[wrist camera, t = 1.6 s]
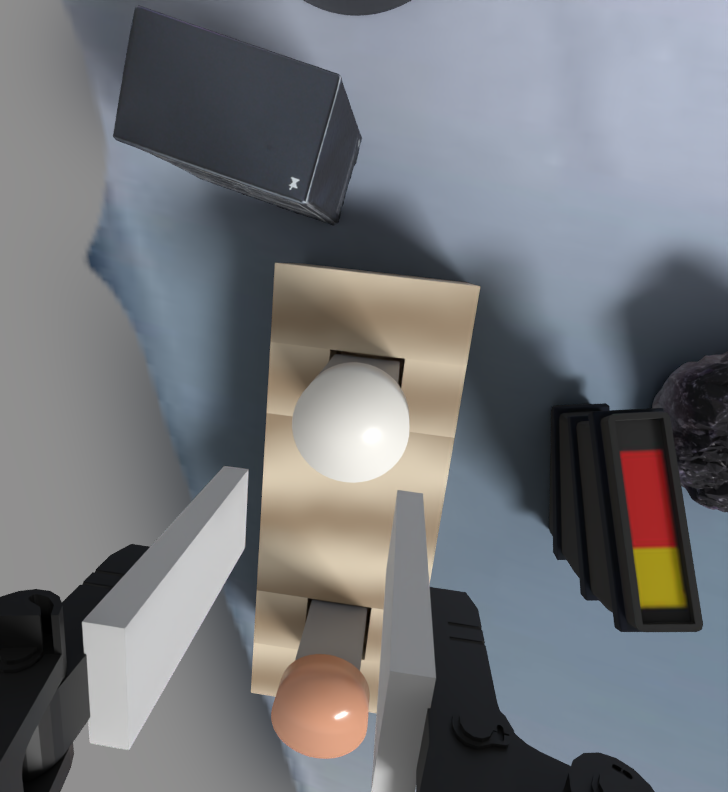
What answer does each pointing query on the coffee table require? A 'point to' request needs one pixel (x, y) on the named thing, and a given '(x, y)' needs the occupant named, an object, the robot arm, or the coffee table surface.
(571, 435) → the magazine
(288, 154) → the small box
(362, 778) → the coffee table surface
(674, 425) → the black rock
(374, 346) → the block
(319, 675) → the terracotta plunger
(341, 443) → the pale plunger
